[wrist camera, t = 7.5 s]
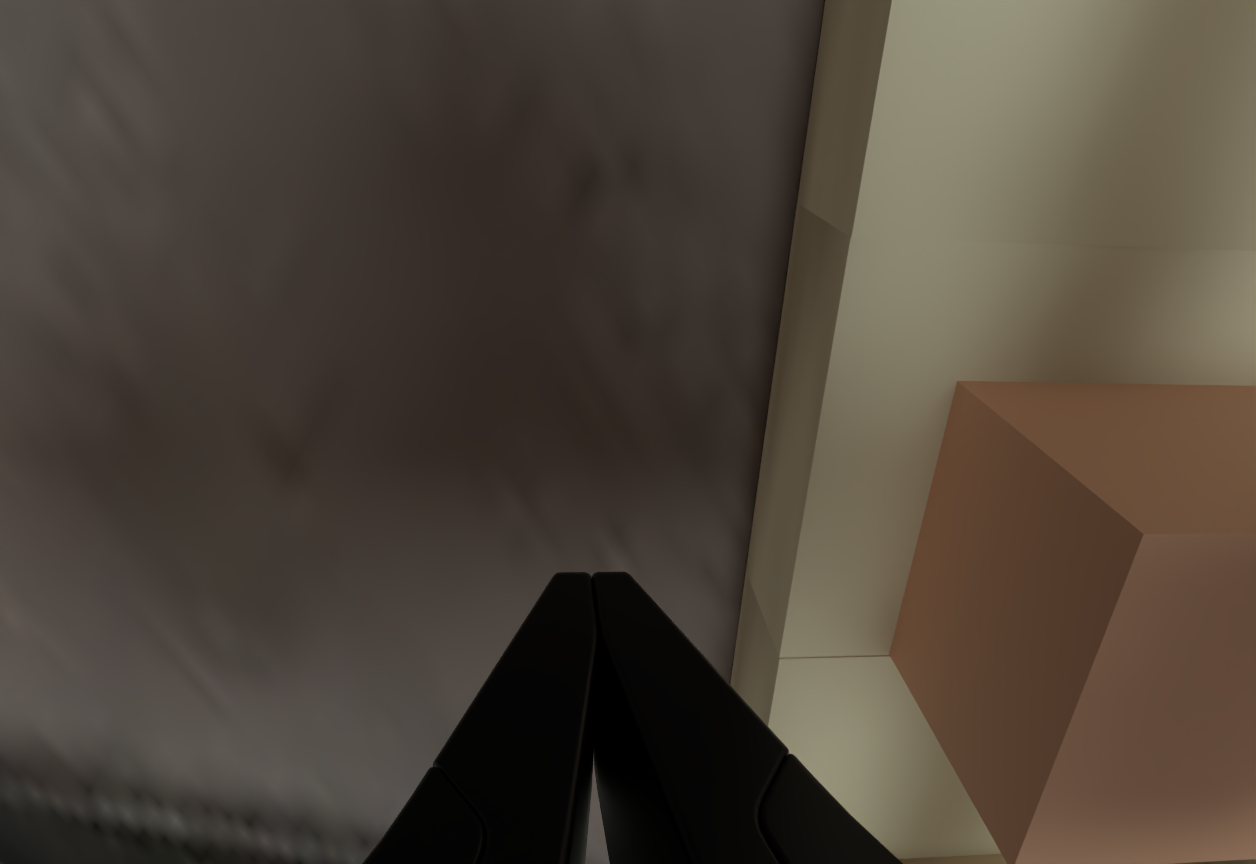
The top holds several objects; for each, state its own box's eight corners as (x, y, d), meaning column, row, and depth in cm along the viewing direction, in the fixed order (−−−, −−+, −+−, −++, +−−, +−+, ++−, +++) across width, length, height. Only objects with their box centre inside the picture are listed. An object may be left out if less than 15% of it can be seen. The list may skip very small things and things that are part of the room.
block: (1274, 385, 12) (1583, 531, 8) (1161, 648, 14) (1369, 853, 11) (957, 380, 12) (1143, 534, 8) (889, 654, 14) (1011, 871, 10)
